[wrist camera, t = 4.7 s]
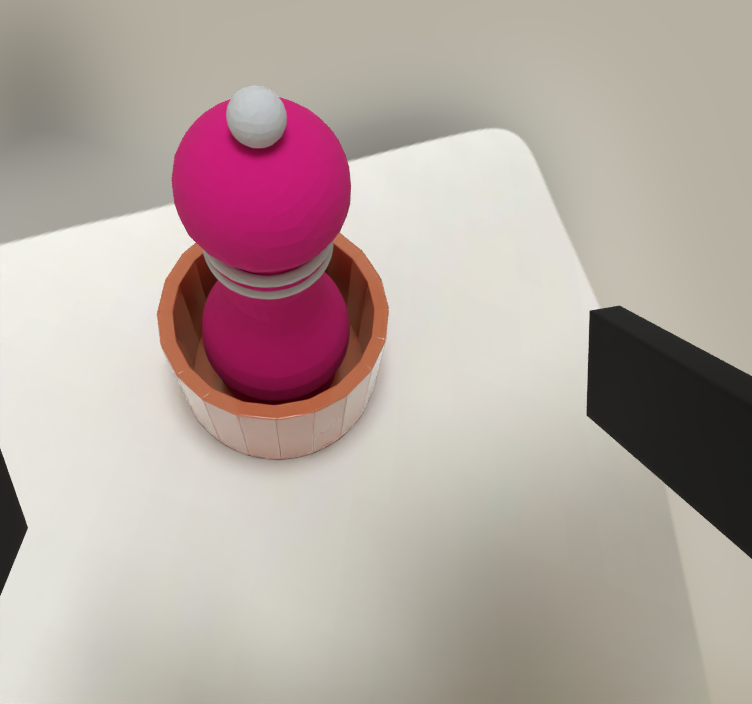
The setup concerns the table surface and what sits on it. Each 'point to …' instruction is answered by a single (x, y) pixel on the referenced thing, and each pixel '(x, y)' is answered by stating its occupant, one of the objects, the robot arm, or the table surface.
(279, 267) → the pepper mill
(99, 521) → the table surface
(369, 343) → the crock
